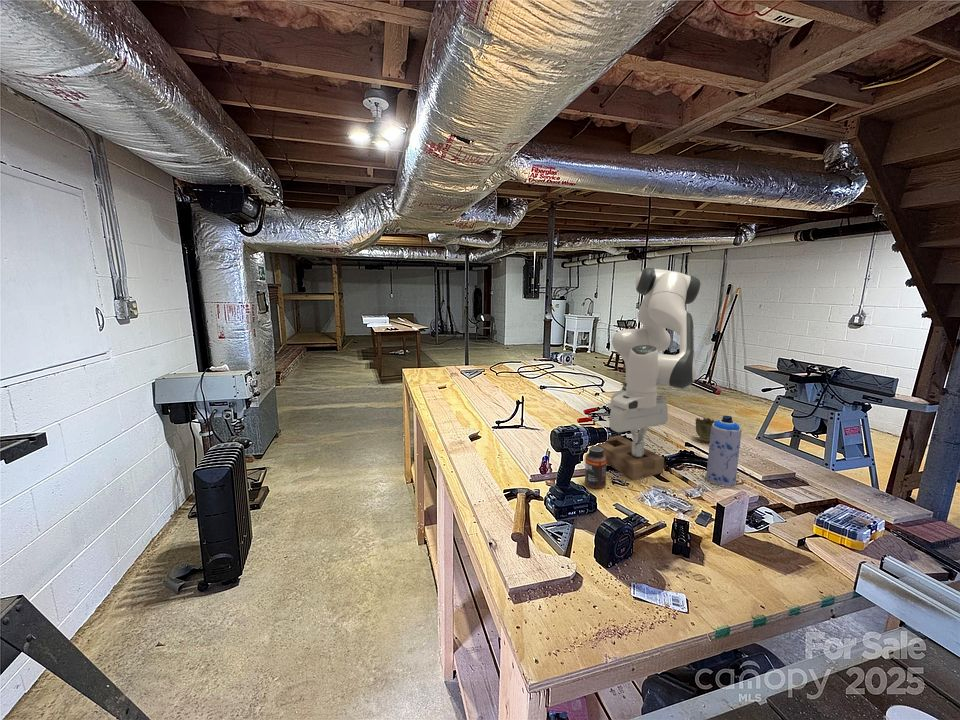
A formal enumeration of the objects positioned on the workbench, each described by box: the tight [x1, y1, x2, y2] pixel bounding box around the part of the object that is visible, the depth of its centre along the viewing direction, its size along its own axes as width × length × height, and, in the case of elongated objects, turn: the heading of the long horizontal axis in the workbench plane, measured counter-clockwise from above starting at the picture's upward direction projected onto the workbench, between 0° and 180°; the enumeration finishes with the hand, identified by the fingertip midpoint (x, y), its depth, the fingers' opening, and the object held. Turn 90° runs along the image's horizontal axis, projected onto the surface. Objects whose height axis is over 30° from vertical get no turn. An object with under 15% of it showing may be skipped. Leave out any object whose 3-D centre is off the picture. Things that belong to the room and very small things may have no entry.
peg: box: [631, 440, 645, 459], centre depth 120 cm, size 4×4×9 cm
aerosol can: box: [705, 415, 743, 487], centre depth 112 cm, size 8×8×20 cm
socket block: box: [596, 435, 665, 481], centre depth 125 cm, size 20×12×5 cm, turn 21°
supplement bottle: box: [584, 445, 607, 490], centre depth 111 cm, size 6×6×11 cm
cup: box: [695, 417, 717, 443], centre depth 142 cm, size 8×7×8 cm
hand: (638, 440), depth 120 cm, fingers closed
